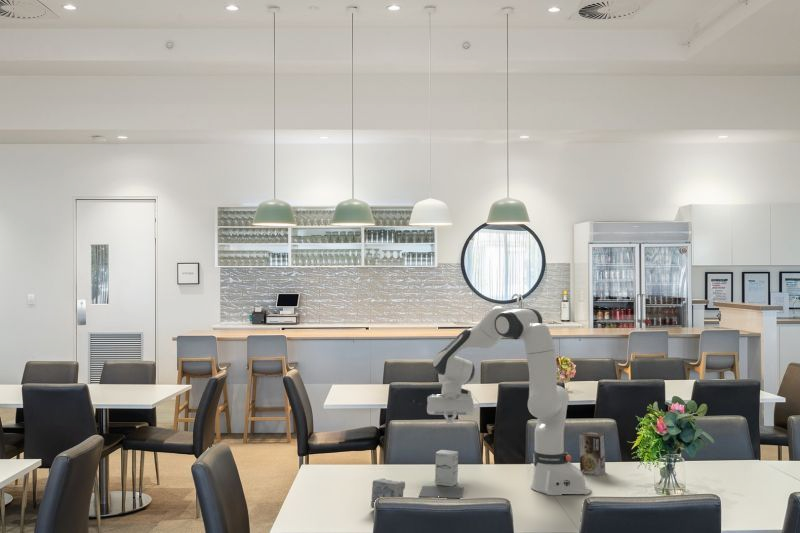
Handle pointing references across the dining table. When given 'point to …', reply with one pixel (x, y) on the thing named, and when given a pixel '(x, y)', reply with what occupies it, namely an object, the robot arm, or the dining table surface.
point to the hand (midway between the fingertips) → (449, 422)
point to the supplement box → (446, 468)
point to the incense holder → (386, 489)
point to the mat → (441, 492)
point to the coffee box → (592, 453)
